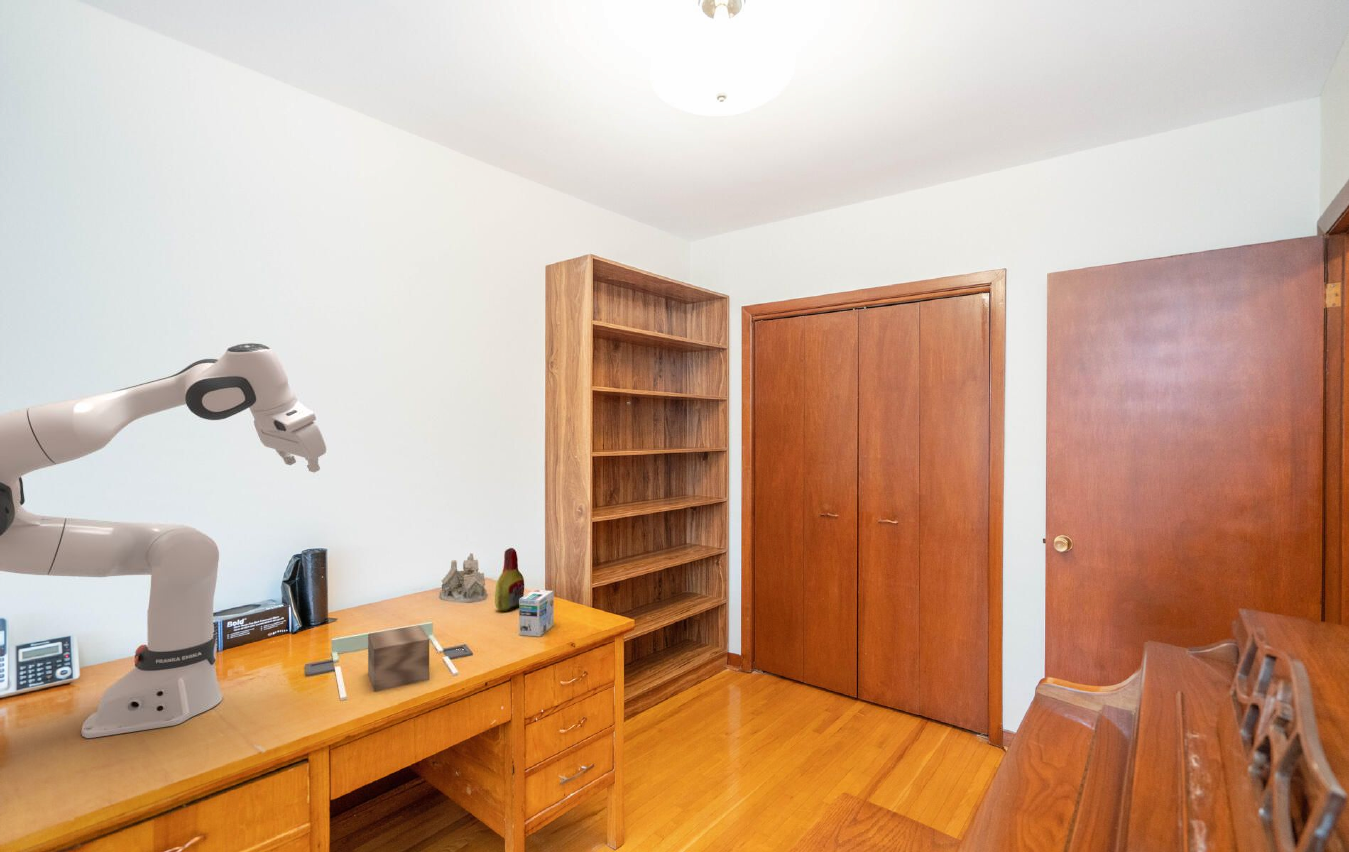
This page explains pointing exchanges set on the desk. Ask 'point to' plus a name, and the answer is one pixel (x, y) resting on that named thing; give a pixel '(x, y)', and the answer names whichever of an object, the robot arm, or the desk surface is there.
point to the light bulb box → (536, 613)
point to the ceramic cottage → (464, 583)
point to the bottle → (509, 583)
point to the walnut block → (398, 657)
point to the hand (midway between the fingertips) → (303, 467)
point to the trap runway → (361, 643)
